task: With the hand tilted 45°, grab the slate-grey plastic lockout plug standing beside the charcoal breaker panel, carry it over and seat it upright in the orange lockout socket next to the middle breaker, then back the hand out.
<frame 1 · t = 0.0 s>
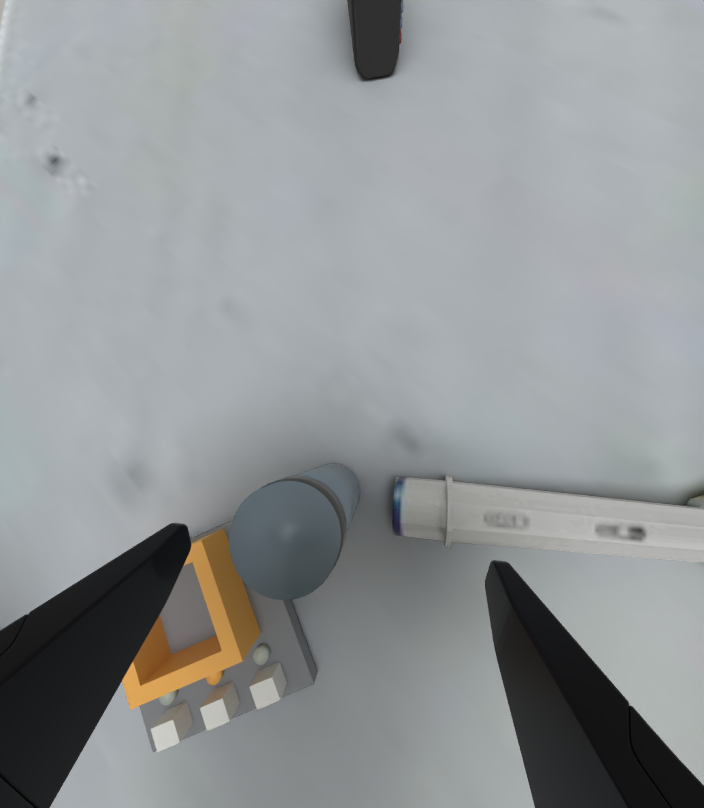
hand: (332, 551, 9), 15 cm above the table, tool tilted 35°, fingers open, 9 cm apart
black upright block: (374, 43, 29), on the table
breaker panel: (212, 619, 24), on the table
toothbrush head: (567, 512, 23), on the table
lockout plug: (333, 490, 24), on the table
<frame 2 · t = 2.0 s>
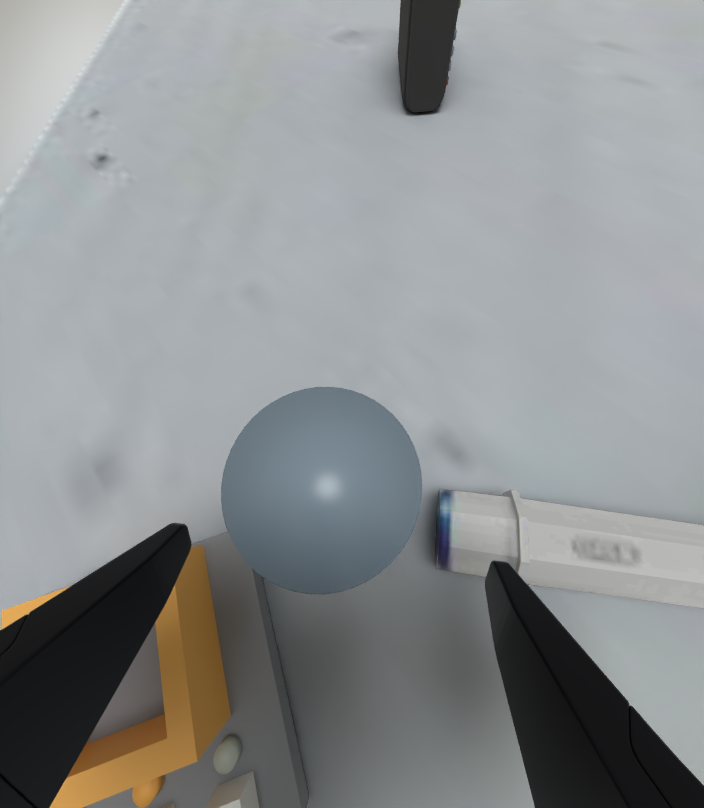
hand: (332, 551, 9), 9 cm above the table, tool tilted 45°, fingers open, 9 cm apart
black upright block: (419, 90, 32), on the table
breaker panel: (161, 688, 16), on the table
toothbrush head: (667, 560, 17), on the table
lockout plug: (354, 507, 19), on the table
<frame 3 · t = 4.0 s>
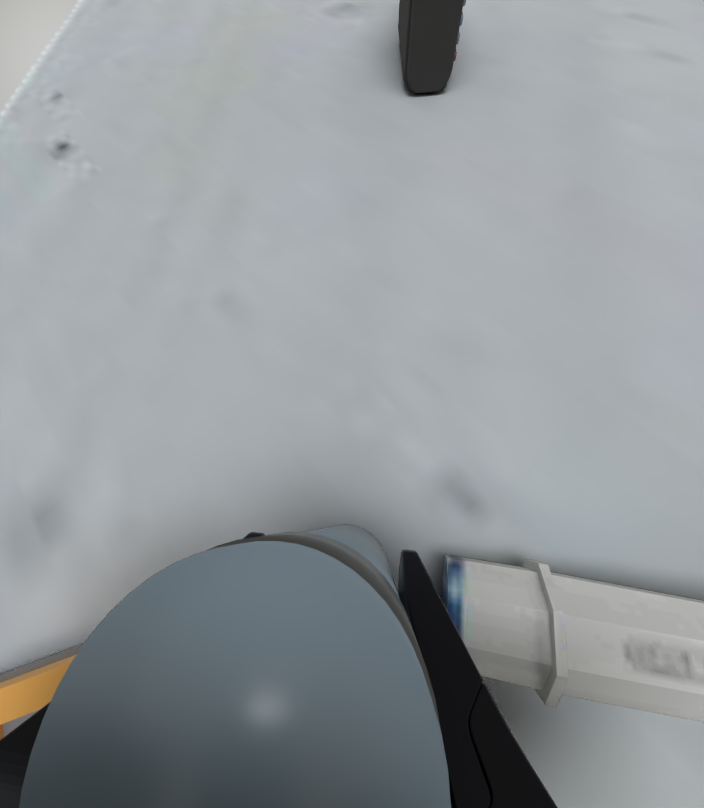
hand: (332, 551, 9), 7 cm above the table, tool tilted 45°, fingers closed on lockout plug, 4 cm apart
black upright block: (423, 69, 28), on the table
lockout plug: (345, 570, 15), on the table, touching gripper
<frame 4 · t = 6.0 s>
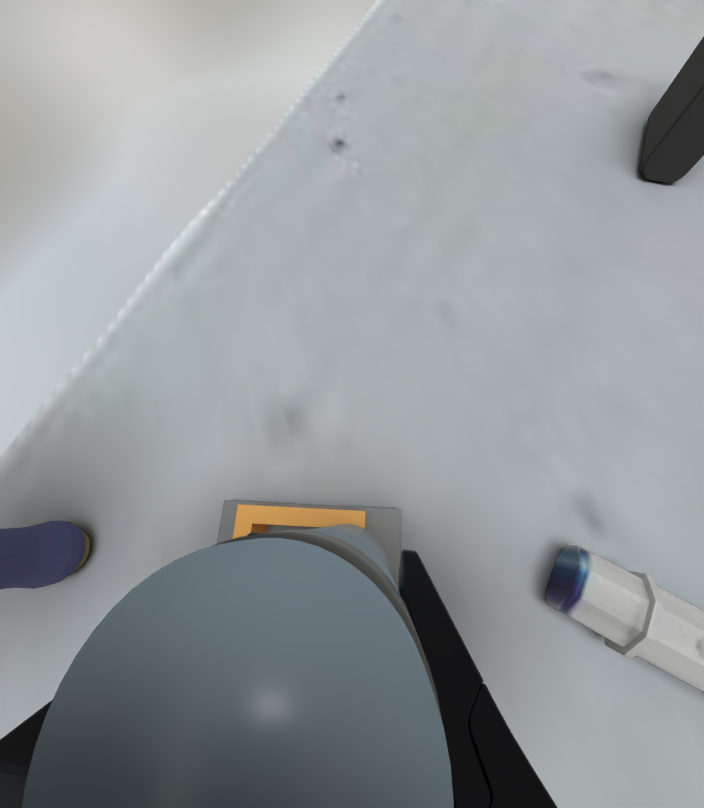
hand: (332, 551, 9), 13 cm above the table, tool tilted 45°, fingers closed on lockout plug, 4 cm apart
black upright block: (658, 155, 31), on the table
breaker panel: (305, 602, 21), on the table
rubber mallet: (74, 549, 23), on the table
lockout plug: (346, 569, 15), point 7 cm above the table, touching gripper
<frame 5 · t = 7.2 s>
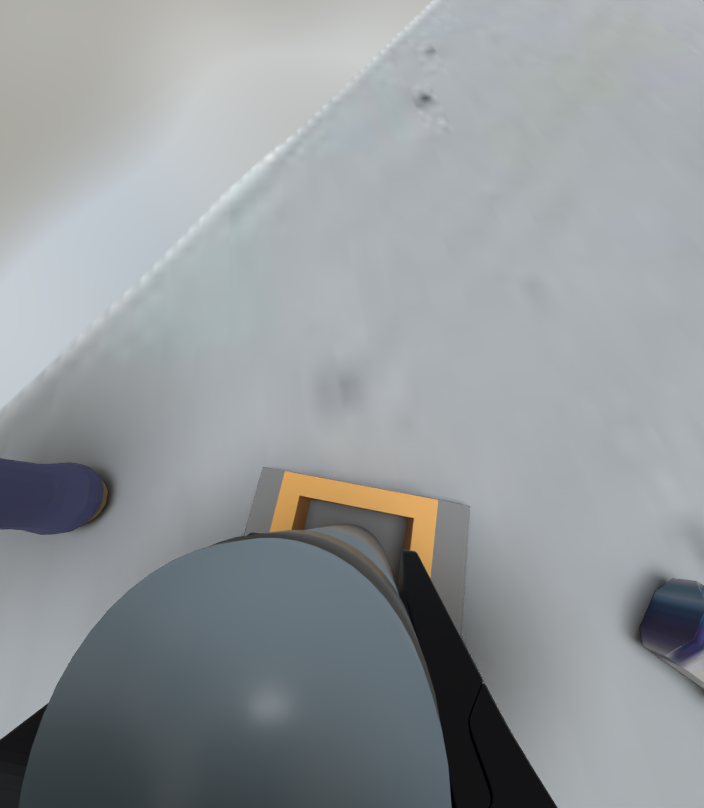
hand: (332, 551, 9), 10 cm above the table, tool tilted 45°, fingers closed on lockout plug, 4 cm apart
breaker panel: (343, 598, 18), on the table
rubber mallet: (90, 499, 21), on the table
lockout plug: (345, 569, 15), point 3 cm above the table, touching gripper
when the fingers open (9 cm above the table, at t = 8.1 s): lockout plug drops 1 cm, resting on breaker panel.
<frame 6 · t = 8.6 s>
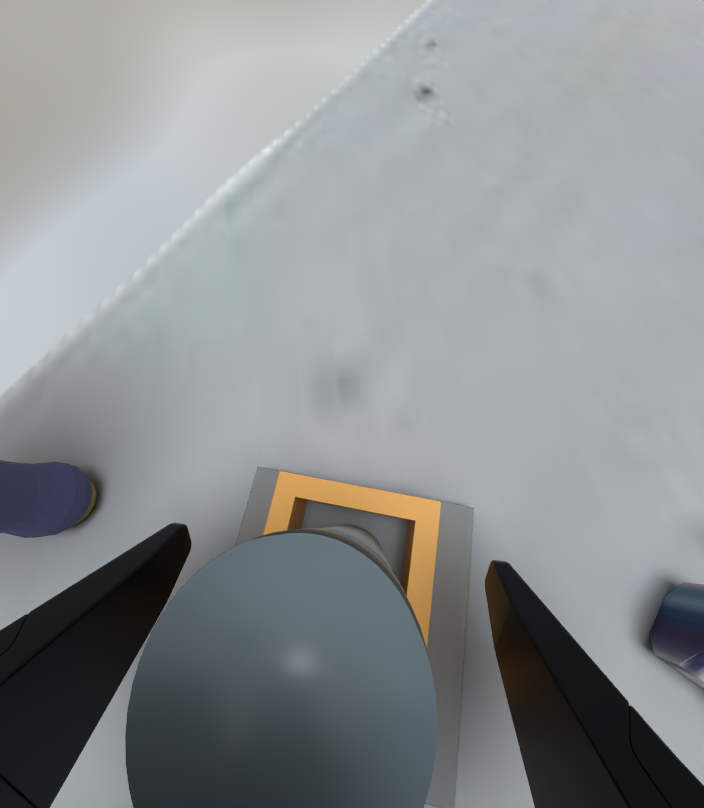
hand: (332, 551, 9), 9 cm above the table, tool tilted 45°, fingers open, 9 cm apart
breaker panel: (341, 604, 17), on the table
rubber mallet: (78, 500, 20), on the table
lockout plug: (347, 566, 16), point 1 cm above the table, touching breaker panel
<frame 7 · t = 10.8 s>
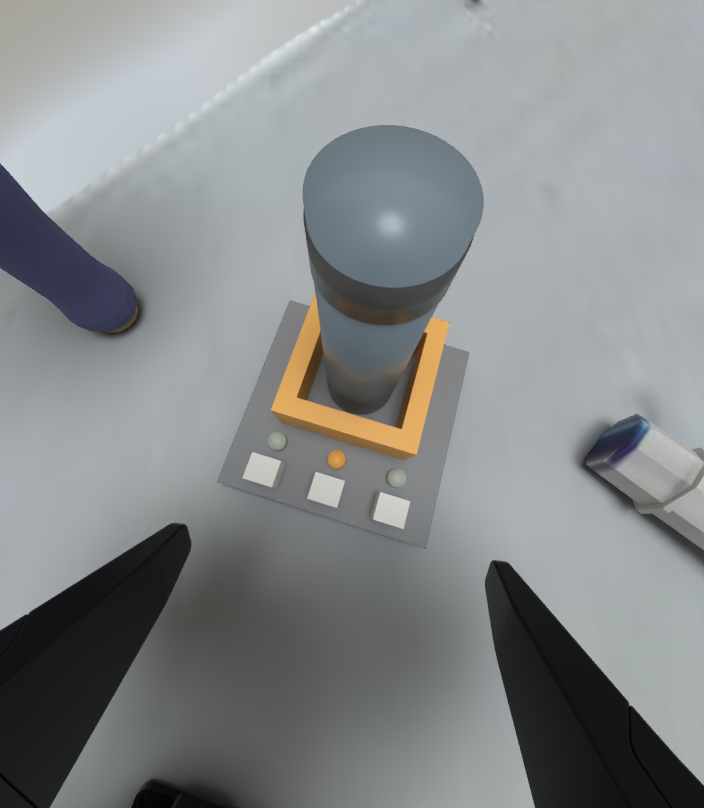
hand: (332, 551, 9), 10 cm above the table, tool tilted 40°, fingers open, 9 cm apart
breaker panel: (350, 417, 20), on the table
rubber mallet: (119, 315, 22), on the table
lockout plug: (360, 382, 20), point 1 cm above the table, touching breaker panel
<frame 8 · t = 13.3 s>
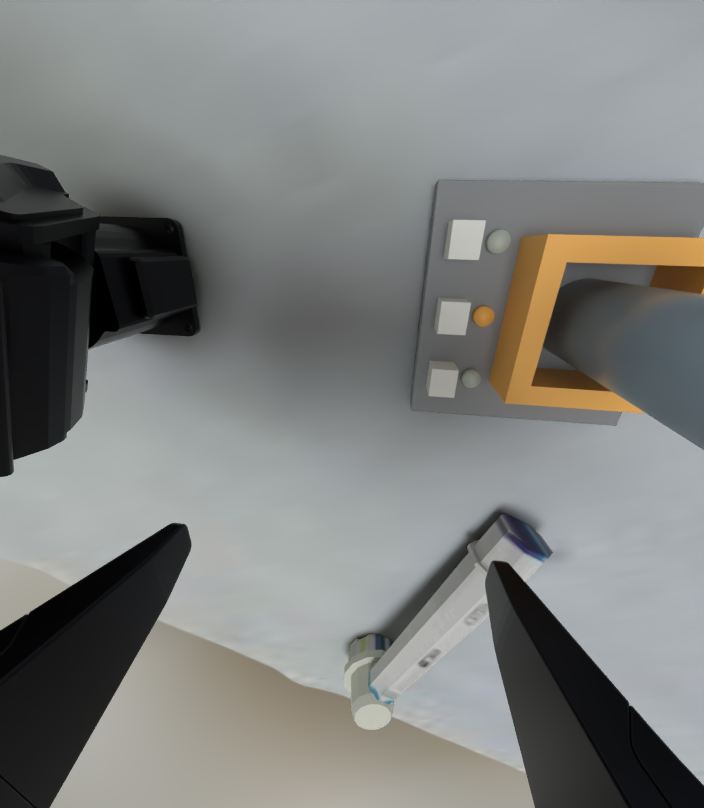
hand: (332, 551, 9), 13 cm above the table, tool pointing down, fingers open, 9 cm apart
breaker panel: (529, 313, 18), on the table
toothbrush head: (424, 596, 30), on the table
lockout plug: (577, 319, 17), point 1 cm above the table, touching breaker panel
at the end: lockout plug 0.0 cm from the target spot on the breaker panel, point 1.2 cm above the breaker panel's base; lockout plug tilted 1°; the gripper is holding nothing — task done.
